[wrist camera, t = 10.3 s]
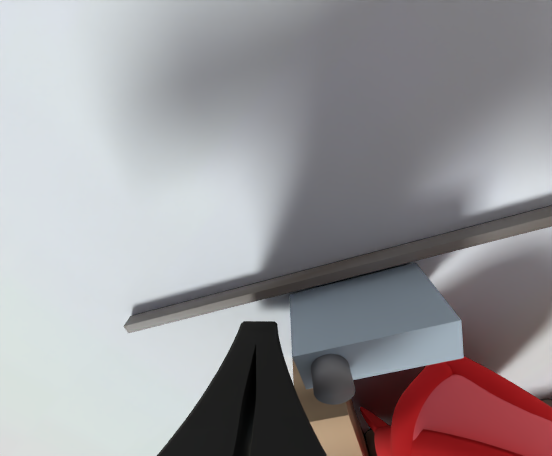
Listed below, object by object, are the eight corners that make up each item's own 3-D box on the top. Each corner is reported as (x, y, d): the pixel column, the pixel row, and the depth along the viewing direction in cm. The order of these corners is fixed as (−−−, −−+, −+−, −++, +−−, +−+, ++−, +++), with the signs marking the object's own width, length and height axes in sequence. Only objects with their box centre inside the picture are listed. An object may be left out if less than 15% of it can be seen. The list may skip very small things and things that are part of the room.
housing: (130, 316, 12) (57, 425, 8) (657, 177, 9) (940, 242, 5) (247, 481, 18) (238, 592, 14) (594, 427, 15) (707, 548, 11)
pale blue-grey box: (289, 294, 11) (293, 380, 8) (415, 262, 11) (479, 342, 7) (300, 323, 12) (308, 414, 9) (420, 294, 11) (480, 381, 8)
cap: (488, 340, 8) (385, 542, 7) (683, 474, 8) (602, 717, 7) (383, 315, 16) (325, 411, 15) (476, 381, 16) (422, 486, 15)
